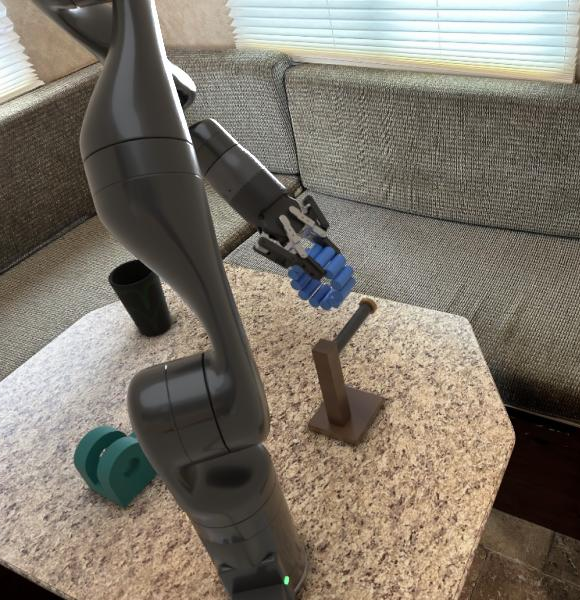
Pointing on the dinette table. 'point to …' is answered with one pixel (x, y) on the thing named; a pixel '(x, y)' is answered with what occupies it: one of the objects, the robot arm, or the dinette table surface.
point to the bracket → (113, 464)
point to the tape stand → (343, 386)
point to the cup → (141, 297)
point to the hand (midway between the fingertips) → (330, 267)
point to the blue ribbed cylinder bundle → (335, 271)
